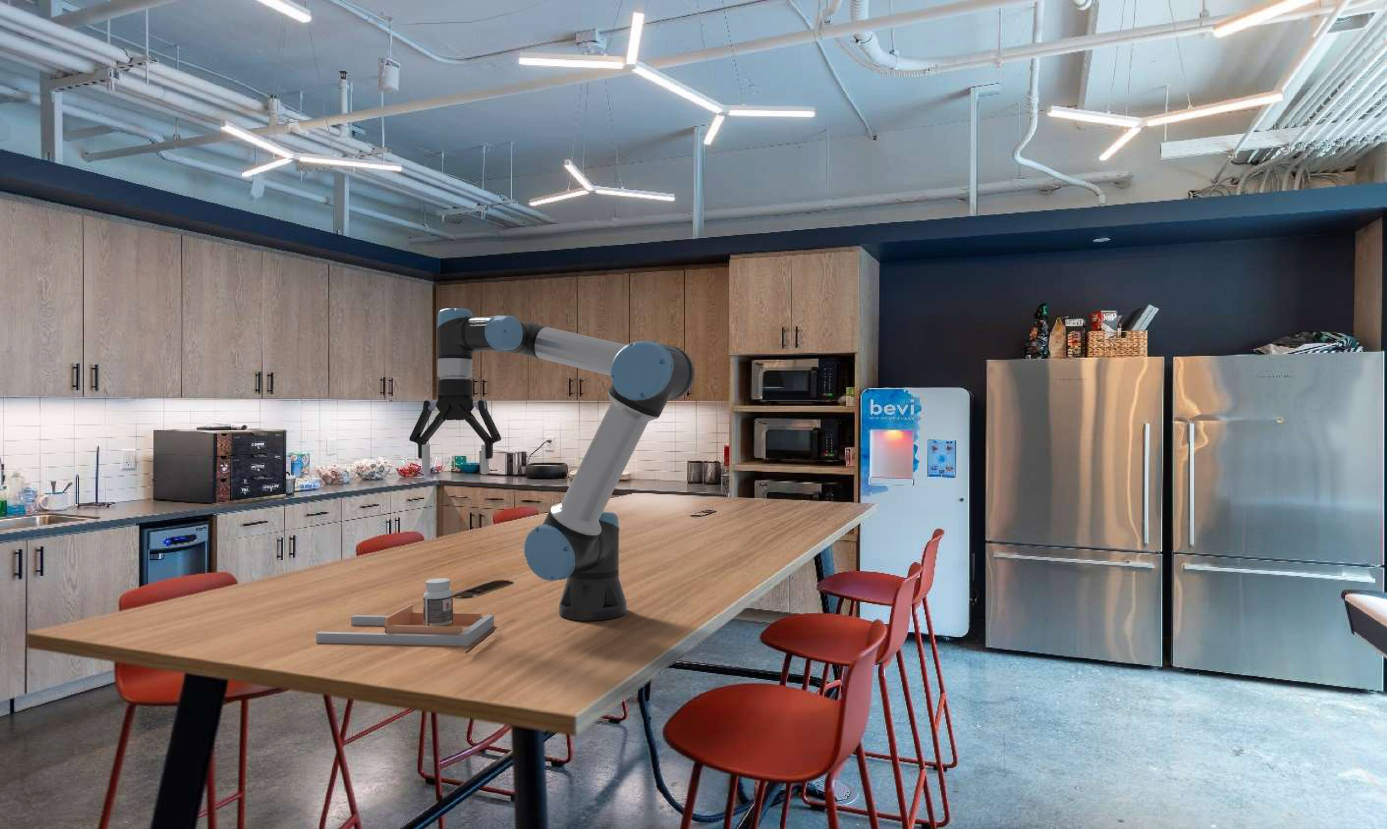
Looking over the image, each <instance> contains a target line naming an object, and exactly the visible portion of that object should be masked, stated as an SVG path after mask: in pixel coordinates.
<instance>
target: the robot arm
mask: <svg viewBox="0 0 1387 829" xmlns="http://www.w3.org/2000/svg"><path fill="white" fill-rule="evenodd" d="M436 324H437V326H436V334H437V335H436V338H437V377H438V378H439V379H438V380H437V401H434V400H432V399H431V400H427V399H426V400H424V401H423V404H422V410H421V413H420V415H419V417H418V419H417V421H416V424H414V428H413V430H412V432H411V434H410V435H409V438H408V439H409V441H410V442H412V443H416V444H417V457H418V460H420V459H421V475H428V474H431V444H428V443H429V442H428V441H430V439H431V438H432V437H433V435H434V434H435V433H436V432H437V431H438V429H439V428H440V427H441V425H442V424H443V423H444V422H446V421H464V420H465V422H466V423H467V424H468V425H469V426H470V427H471V428H472V429H473V430H474V432H475V433H476V434H477V435H478V436H479V439H481V440H482V442H483V443H484V444H481V445H480V447H481V448H480V454H481V455H480V457H481V458H480V461H481V462H480V463H481V468H480V469H481V471H480V472H481V473H480V474H481V475H488V474H489V472H490V467H489V466H490V465H489V464H490V463H489V462H490V459H491V460H492V459H493V457H494V456H493V455H494V449H493V448H494V444H495V443H498V442H500V441H502V436H501V435H500V432H499V430H498V428H497V426H496V425H495V422H494V420H493V418H492V416H491V413H490V412H489V408H488V402H487V401H486V400H485V399H478V401H477V400H476V401H474V398H473V392H474V391H473V386H474V384H473V381H472V379H471V378H472V377H473V355H474V354H473V352H500V353H508V354H515V355H523V356H527V357H531V358H536V359H541V360H544V361H549V362H553V363H556V364H560V365H565V366H569V367H572V368H573V367H574V368H577V369H581V370H585V371H589V372H594V373H596V374H601V375H605V376H609V377H611V384H610V386H609V389H608V391H607V395H608V398H609V401H610V402H609V403H610V404H609V406H608V408H607V410H606V412H605V413H604V416H603V418H602V419H601V422H600V424H599V426H598V428H597V430H596V432H595V434H594V436H593V438H592V440H591V443H590V444H589V446H588V447H587V450H586V452H585V454H584V456H583V458H582V460H581V462H580V465H579V466H578V468H577V470H576V472H575V474H574V476H573V478H572V481H571V483H570V484H569V487H568V488H567V491H566V493H565V495H564V497H563V499H562V500H561V502H560V503H558V502H557V503H556V504H553V505H552V506H551V507H550V509H549V510H548V513H547V514H546V517H545V519H544V521H543V523H542V524H541V525H537V526H535V527H534V528H533V529H532V530H530V532H528V534H527V536H526V538H525V541H524V546H523V553H524V554H523V555H524V557H525V558H526V559H525V560H526V563H527V565H528V567H529V569H530V570H531V571H532V572H533V573H534V575H536V576H537V577H538V578H540V579H542V580H543V581H544V580H545V581H547V582H548V581H550V582H554V581H562V580H566V581H565V584H564V588H563V591H562V595H561V598H560V601H559V605H558V609H559V611H558V612H559V613H558V614H559V616H560V617H562V618H565V619H568V620H573V621H589V622H590V621H603V620H610V619H611V620H612V619H616V618H619V617H622V616H624V615H625V614H626V613H627V606H628V604H627V599H626V596H625V594H624V590H623V587H622V584H621V581H620V576H619V575H620V574H619V573H620V572H619V571H620V570H619V566H620V564H619V562H620V559H619V558H620V557H619V555H620V554H619V552H620V550H619V549H620V548H619V545H620V542H619V541H620V540H619V539H620V538H619V537H620V526H619V517H618V515H617V514H616V513H615V512H609V511H608V512H605V508H606V506H608V504H609V503H608V502H609V500H610V498H611V497H612V495H613V492H614V490H615V489H616V487H617V484H618V482H619V481H620V479H621V477H622V475H623V473H624V471H625V469H626V466H628V463H629V460H630V459H631V457H632V455H633V453H634V451H635V449H636V447H637V445H638V443H639V442H640V439H641V437H642V435H643V433H644V431H645V430H646V428H647V425H648V423H649V422H651V421H654V420H657V419H659V418H660V417H661V415H662V413H663V411H664V409H665V407H666V404H667V403H668V401H675V400H677V399H680V398H682V397H683V396H685V395H686V394H687V393H688V392H689V391H690V390H691V388H692V386H693V385H694V381H695V375H696V371H695V370H696V368H695V365H694V363H693V360H692V358H691V357H690V355H689V354H688V353H687V352H686V351H685V350H683V349H682V348H680V347H677V346H674V345H669V344H665V343H659V342H656V341H655V340H654V341H652V340H640V341H633V342H630V343H628V344H624V343H620V342H614V341H611V340H608V339H607V340H606V339H601V338H597V337H593V336H589V335H583V334H580V333H576V332H570V331H567V330H562V329H558V328H552V327H548V326H544V325H540V324H538V323H534V322H533V323H532V322H527V321H526V322H525V321H521V320H518V319H517V317H515V316H514V315H502V314H497V315H493V316H491V315H489V316H479V317H476V316H475V317H474V316H473V312H472V311H471V310H470V309H467V308H457V307H455V308H451V307H450V308H448V307H447V308H442V309H440V310H439V311H438V314H437V323H436ZM474 407H475V409H476V410H477V411H478V412H479V415H480V417H481V419H482V421H483V423H484V426H485V427H486V430H485V428H484V427H483V426H482V425H481V423H480V422H479V421H478V420H477V418H476V416H474V414H473V413H472V411H473V409H474ZM435 408H436V409H437V410H438V411H439V412H438V413H437V415H436V416H435V417H434V419H433V421H432V422H431V423H430V425H429V426H427V423H428V422H429V419H430V418H431V415H432V413H433V411H434V410H435ZM426 426H427V428H426ZM425 428H426V429H425ZM424 429H425V430H424Z"/></svg>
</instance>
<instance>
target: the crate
mask: <svg viewBox="0 0 1387 829" xmlns="http://www.w3.org/2000/svg"><path fill="white" fill-rule="evenodd" d="M386 616H387V617H386V618H385V626H384V633H404V634H451V635H459V634H460V633H462V632H463V631H464V630H466V629H467V628H469V627H470V626H471V625H473V624H474V623H476V622H477V621H478V620H480V619H481V618H483V614H482V612H476V613H475V612H453V626H423V611H414V605H413V604H408V605H407V606H404V607H403V608H401V609H398V610H397V611H395V612H393V613H391V614H390V615H386Z"/></svg>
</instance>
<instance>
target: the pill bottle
mask: <svg viewBox="0 0 1387 829" xmlns="http://www.w3.org/2000/svg"><path fill="white" fill-rule="evenodd" d="M424 584H425V585H424V586H425V589H426V591H424V593H423V597H422V612H423V626H453V613H454V602H453V601H454V600H453V599H454V596H453V592H452V590H451V589H450V586H451V580H450V579H449V578H446V577H442V578H429V579H427V580H426V581H425V583H424Z"/></svg>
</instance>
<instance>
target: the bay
mask: <svg viewBox="0 0 1387 829" xmlns="http://www.w3.org/2000/svg"><path fill="white" fill-rule="evenodd" d="M387 616H388V615H370V614H368V615H367V614H365V615H363V614H354V615H352V616H350V625H351V626H382V627H383V626H384V627H385V618H386V617H387ZM494 626H495V615H494V614H485V615H484V616H482V618H481V619H480V620H478V621H477V622H476V623H474V624H473V625H471V626H470V627H469V628H467V629H466V630H464V631H463V632H462V633H460V634H459V635H451V634H404V633H385V632H355V631H354V632H353V631H352V632H350V631H348V632H346V631H343V632H342V631H336V632H335V631H318V632H316V634H315V636H316V637H315V640H316V641H315V642H316V643H317V644H318V643H322V644H323V643H324V644H325V643H329V644H363V645H364V644H366V645H411V646H422V645H423V646H452V647H453V646H457V647H468V646H470V645H471V644H472V643H474V642H475V641H476V640H477V639H479V638H480V637H482V636H484V634H485V633H487V632H488V631H489V630H491V629H492V628H494ZM494 632H495V630H494V629H493V630H492V631H491V632H489V633H488V634H487V635H485V637H483V638H482V639H480V641H478V642H476V643H475V645H473V646H471V648H469V649H467V651H466V652H464V654H468V653H469V652H471V651H472V650H473V649H474V648H475V647H477V646H478V645H480V644H481V643H482V642H483V641H485V640H486V639H487V638H488V637H489V636H491V635H492V634H493V633H494Z"/></svg>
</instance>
